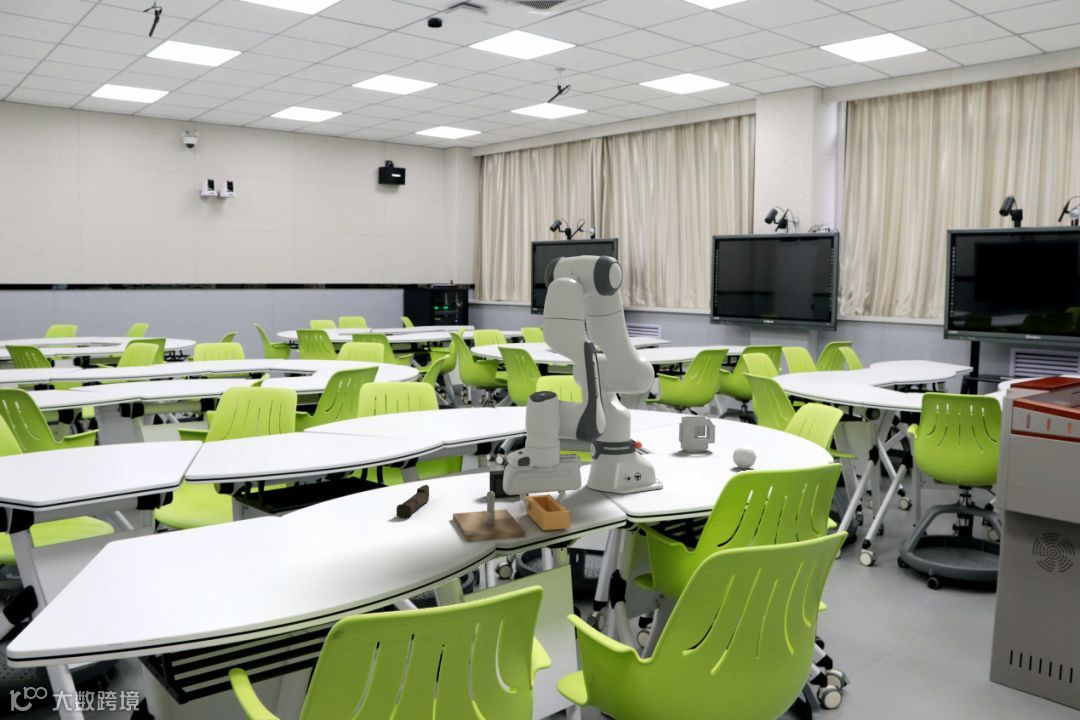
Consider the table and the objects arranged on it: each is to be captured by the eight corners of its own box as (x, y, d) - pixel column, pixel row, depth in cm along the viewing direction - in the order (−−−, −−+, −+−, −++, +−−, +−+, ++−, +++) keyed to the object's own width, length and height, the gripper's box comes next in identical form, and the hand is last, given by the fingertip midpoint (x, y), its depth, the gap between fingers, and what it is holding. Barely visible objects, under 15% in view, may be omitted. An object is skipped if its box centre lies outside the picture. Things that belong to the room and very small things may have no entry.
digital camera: (494, 500, 227) (494, 475, 226) (489, 494, 232) (489, 470, 231) (530, 497, 230) (530, 472, 229) (524, 492, 235) (524, 468, 234)
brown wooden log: (410, 520, 208) (410, 502, 208) (395, 518, 209) (395, 500, 209) (437, 500, 227) (437, 484, 226) (424, 499, 228) (424, 482, 227)
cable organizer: (715, 452, 289) (716, 418, 288) (681, 453, 287) (682, 419, 286) (708, 448, 296) (710, 415, 294) (675, 449, 294) (676, 416, 293)
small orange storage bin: (549, 509, 215) (549, 494, 215) (569, 527, 200) (569, 511, 200) (525, 511, 213) (525, 496, 213) (543, 530, 198) (543, 514, 198)
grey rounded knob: (756, 471, 262) (757, 448, 261) (732, 470, 263) (733, 447, 262) (754, 464, 271) (755, 442, 271) (731, 463, 273) (732, 441, 272)
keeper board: (506, 515, 212) (506, 477, 211) (525, 536, 195) (525, 495, 194) (452, 519, 208) (452, 480, 207) (467, 541, 191) (467, 499, 190)
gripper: (577, 450, 214) (576, 501, 216) (501, 455, 208) (501, 508, 210) (585, 455, 208) (584, 508, 210) (507, 461, 202) (507, 515, 204)
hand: (542, 508), depth 210 cm, fingers closed on small orange storage bin, 7 cm apart
